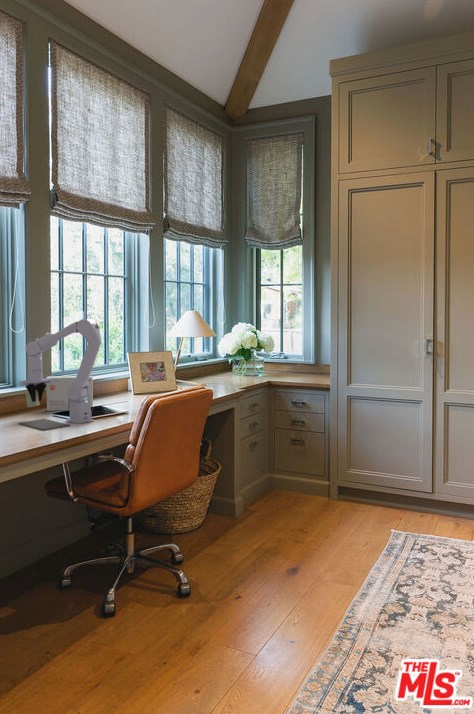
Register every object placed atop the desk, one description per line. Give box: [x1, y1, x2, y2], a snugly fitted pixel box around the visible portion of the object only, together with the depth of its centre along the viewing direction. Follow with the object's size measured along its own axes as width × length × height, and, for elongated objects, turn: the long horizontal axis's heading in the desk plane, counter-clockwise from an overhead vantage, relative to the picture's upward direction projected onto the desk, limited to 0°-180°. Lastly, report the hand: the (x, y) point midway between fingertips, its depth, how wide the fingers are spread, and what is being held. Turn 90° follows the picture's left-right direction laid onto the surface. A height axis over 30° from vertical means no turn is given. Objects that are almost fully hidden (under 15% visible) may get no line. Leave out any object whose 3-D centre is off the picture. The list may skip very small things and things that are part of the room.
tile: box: [25, 390, 40, 408], centre depth 261 cm, size 7×2×6 cm, turn 47°
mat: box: [17, 418, 71, 432], centre depth 249 cm, size 20×12×1 cm, turn 48°
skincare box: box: [45, 375, 94, 412], centre depth 287 cm, size 21×5×16 cm, turn 101°
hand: (36, 401), depth 259 cm, fingers closed on tile, 2 cm apart
